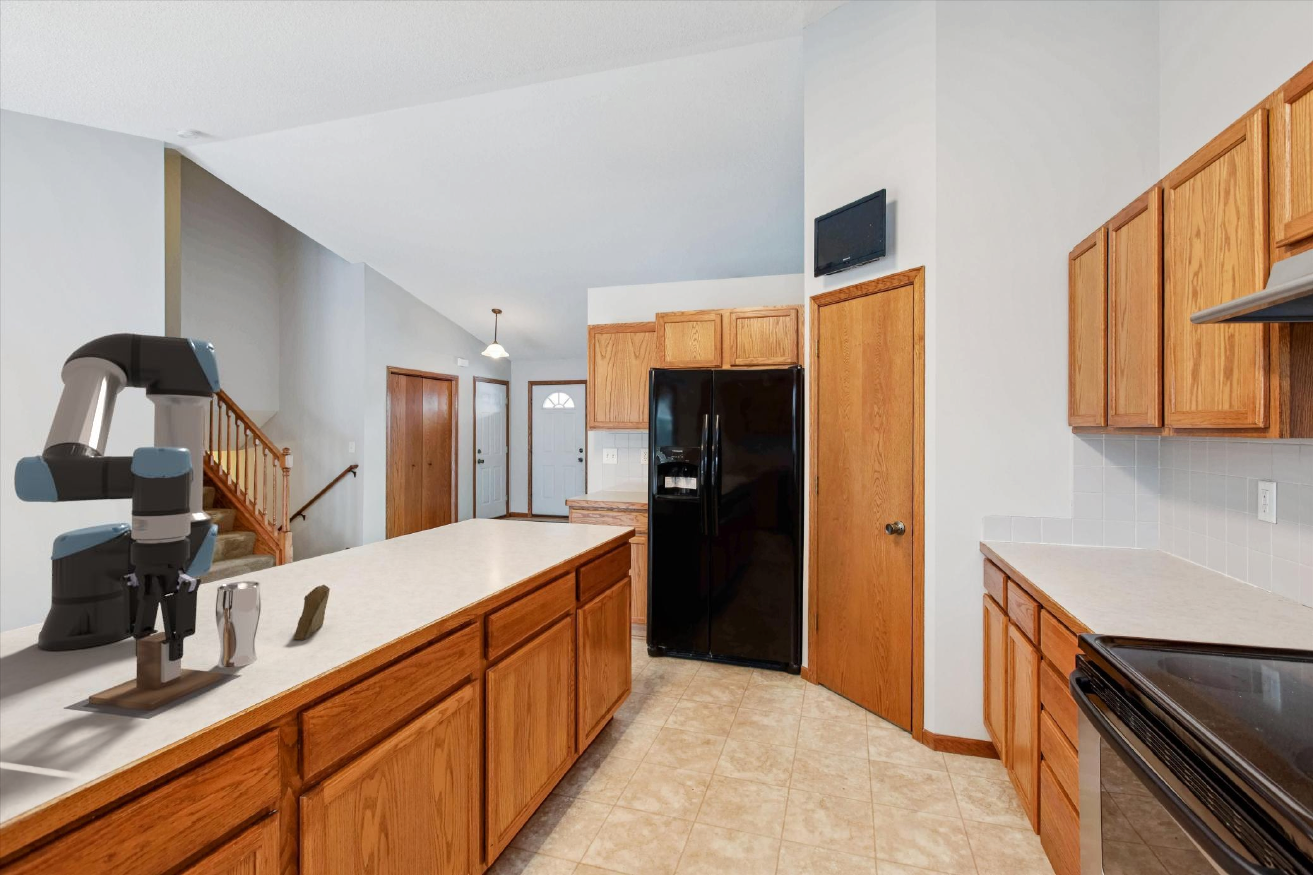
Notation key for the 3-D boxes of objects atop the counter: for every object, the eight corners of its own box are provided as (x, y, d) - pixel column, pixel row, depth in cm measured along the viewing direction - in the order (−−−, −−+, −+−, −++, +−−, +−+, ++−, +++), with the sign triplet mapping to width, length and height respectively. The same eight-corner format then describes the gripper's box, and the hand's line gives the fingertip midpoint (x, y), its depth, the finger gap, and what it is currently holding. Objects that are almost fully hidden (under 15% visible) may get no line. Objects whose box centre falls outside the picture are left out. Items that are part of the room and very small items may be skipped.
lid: (88, 702, 92) (89, 646, 92) (164, 672, 103) (165, 622, 103) (151, 710, 90) (152, 653, 90) (221, 678, 101) (222, 627, 101)
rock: (310, 632, 120) (347, 612, 130) (287, 599, 120) (326, 581, 130) (281, 657, 123) (319, 635, 133) (258, 624, 124) (298, 605, 133)
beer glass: (253, 654, 114) (254, 578, 114) (265, 663, 109) (266, 585, 109) (209, 664, 108) (211, 585, 108) (220, 675, 104) (221, 592, 104)
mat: (63, 711, 90) (63, 707, 90) (166, 670, 106) (166, 667, 106) (148, 721, 87) (148, 718, 87) (241, 678, 103) (241, 675, 103)
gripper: (94, 540, 94) (91, 682, 94) (182, 545, 91) (179, 692, 91) (142, 532, 101) (140, 664, 102) (225, 537, 99) (222, 673, 99)
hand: (158, 677), depth 97 cm, fingers closed on lid, 4 cm apart
